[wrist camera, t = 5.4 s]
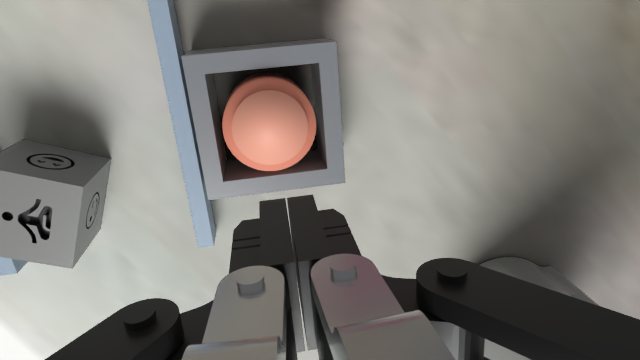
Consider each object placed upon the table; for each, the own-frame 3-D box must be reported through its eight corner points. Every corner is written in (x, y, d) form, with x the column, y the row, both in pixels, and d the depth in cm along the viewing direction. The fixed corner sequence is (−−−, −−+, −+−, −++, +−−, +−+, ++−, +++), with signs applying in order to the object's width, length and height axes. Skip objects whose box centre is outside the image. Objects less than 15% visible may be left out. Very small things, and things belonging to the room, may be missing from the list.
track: (144, -153, 22) (135, -168, 21) (216, 231, 30) (213, 245, 28) (-136, -141, 21) (-173, -156, 19) (16, 258, 29) (-1, 275, 27)
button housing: (324, 37, 27) (336, 41, 23) (333, 161, 30) (345, 182, 26) (191, 50, 26) (181, 56, 22) (213, 176, 29) (208, 200, 25)
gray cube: (100, 228, 29) (72, 268, 25) (17, 212, 28) (-30, 252, 23) (111, 158, 28) (83, 187, 23) (23, 139, 27) (-25, 165, 22)
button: (305, 68, 26) (313, 75, 23) (313, 150, 28) (320, 167, 24) (219, 77, 25) (214, 85, 22) (232, 159, 27) (229, 179, 24)
